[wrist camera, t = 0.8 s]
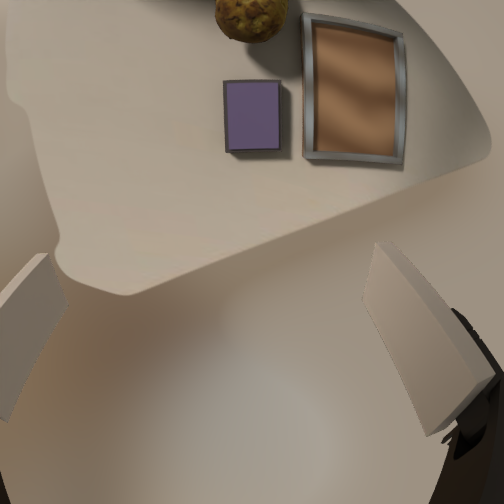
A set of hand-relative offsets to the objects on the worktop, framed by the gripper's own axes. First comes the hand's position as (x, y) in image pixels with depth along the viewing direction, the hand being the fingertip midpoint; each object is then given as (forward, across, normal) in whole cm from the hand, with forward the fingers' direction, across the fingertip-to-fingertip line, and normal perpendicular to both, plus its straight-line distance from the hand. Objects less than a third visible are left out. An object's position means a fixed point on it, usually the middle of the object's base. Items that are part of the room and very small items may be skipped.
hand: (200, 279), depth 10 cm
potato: (+24, +3, +19) cm, 31 cm away
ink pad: (+24, +3, +5) cm, 24 cm away
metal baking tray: (+24, +15, +9) cm, 30 cm away
